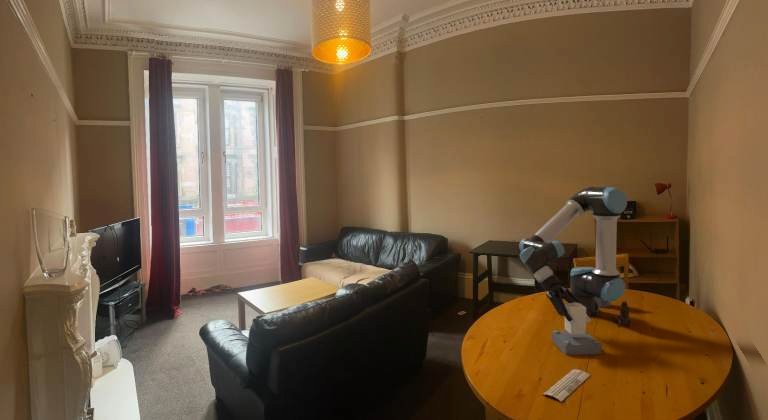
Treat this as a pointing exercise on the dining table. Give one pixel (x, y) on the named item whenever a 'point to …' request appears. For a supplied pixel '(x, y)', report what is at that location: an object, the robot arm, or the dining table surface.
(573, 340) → the base plate
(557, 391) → the newspaper
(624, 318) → the dark figurine
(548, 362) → the dining table surface
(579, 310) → the tower brick
